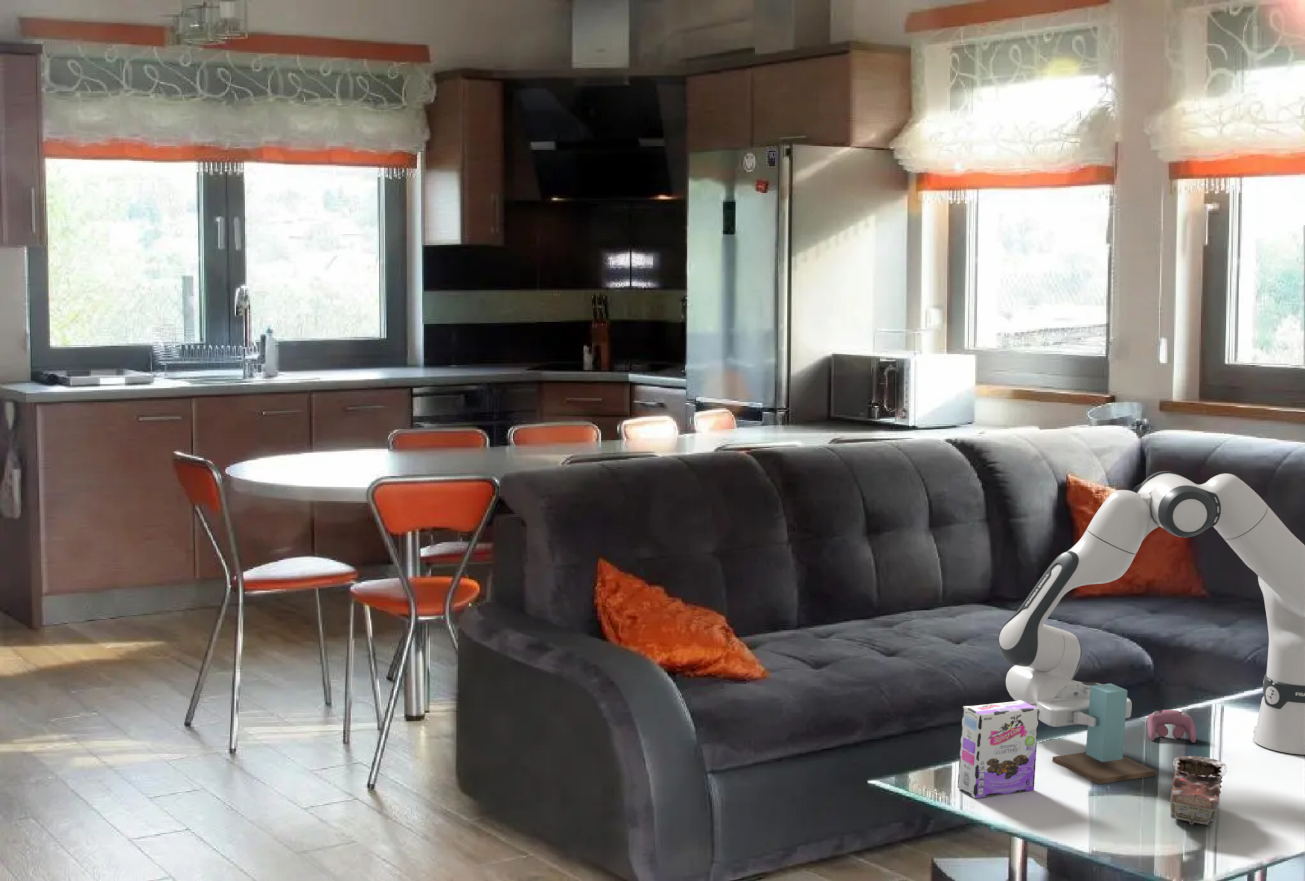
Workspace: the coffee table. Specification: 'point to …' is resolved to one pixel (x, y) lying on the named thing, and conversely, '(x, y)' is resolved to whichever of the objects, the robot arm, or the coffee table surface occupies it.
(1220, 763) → the decorative box
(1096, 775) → the walnut board
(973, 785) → the candy box
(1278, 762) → the coffee table surface
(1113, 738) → the teal block
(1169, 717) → the video game controller
